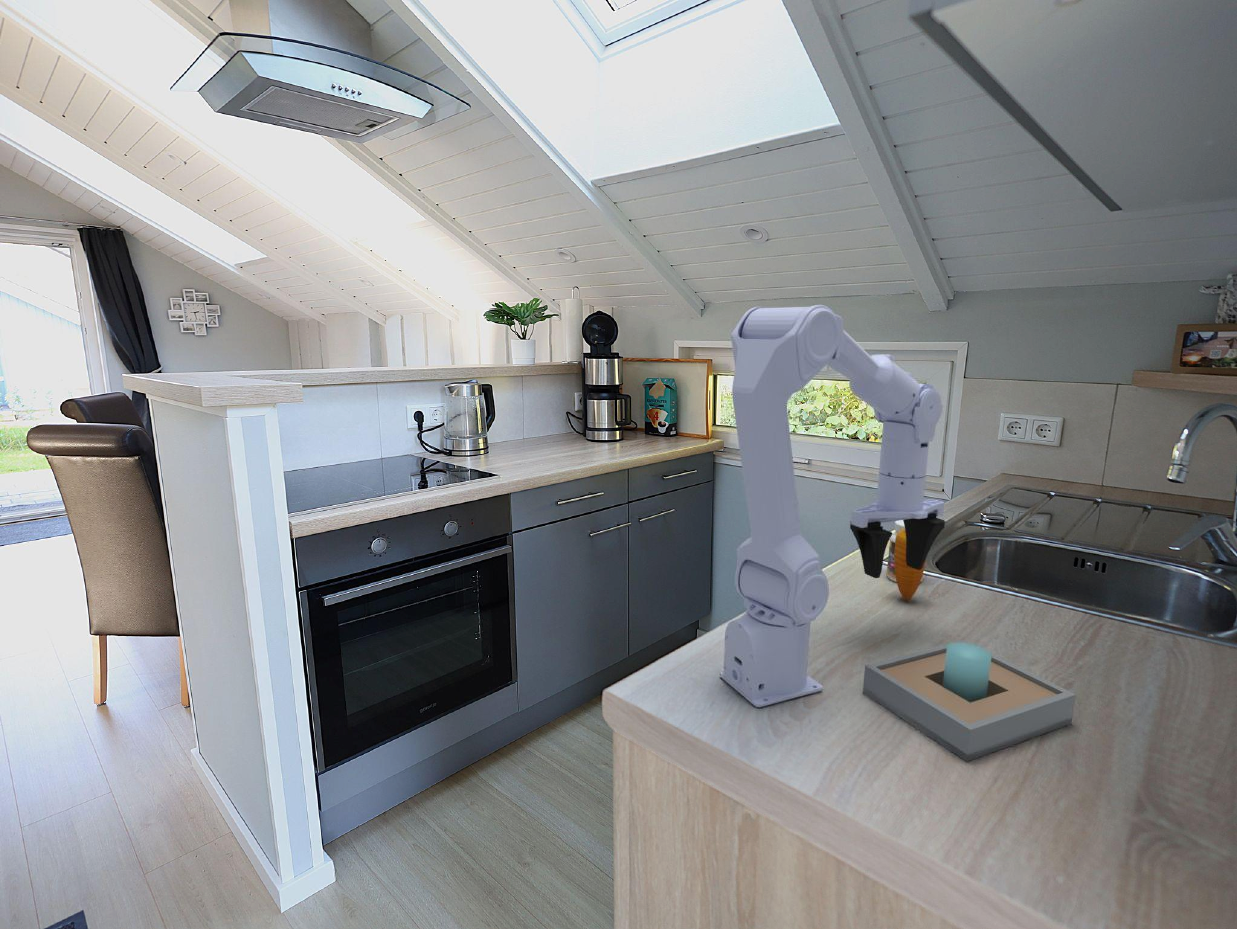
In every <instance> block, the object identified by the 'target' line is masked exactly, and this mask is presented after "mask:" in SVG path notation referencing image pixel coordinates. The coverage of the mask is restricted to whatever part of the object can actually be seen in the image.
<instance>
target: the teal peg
mask: <svg viewBox="0 0 1237 929" xmlns="http://www.w3.org/2000/svg"><path fill="white" fill-rule="evenodd" d="M950 643H951V644H949V643H948V644H949V645H948V646H947V651H946V660H945V669H944V678H943V687H944V688H946V689H947V690H949V691H951V692H953V693H954V694H956V695H958V696H959V697H961V698H963V699H965V700H966V701H968V702H970V703H971V702H974V701H977V700H980V699H984V698H986V697H987V688H988V680H989V672H990V664H991V654H992V653H991V652H990V651H989V650H987V649H985V648H984V647H982V646H978V645H977V644H973V643H970V642H968V643H952V642H950ZM969 643H970V644H969ZM990 653H991V654H990Z"/></svg>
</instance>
